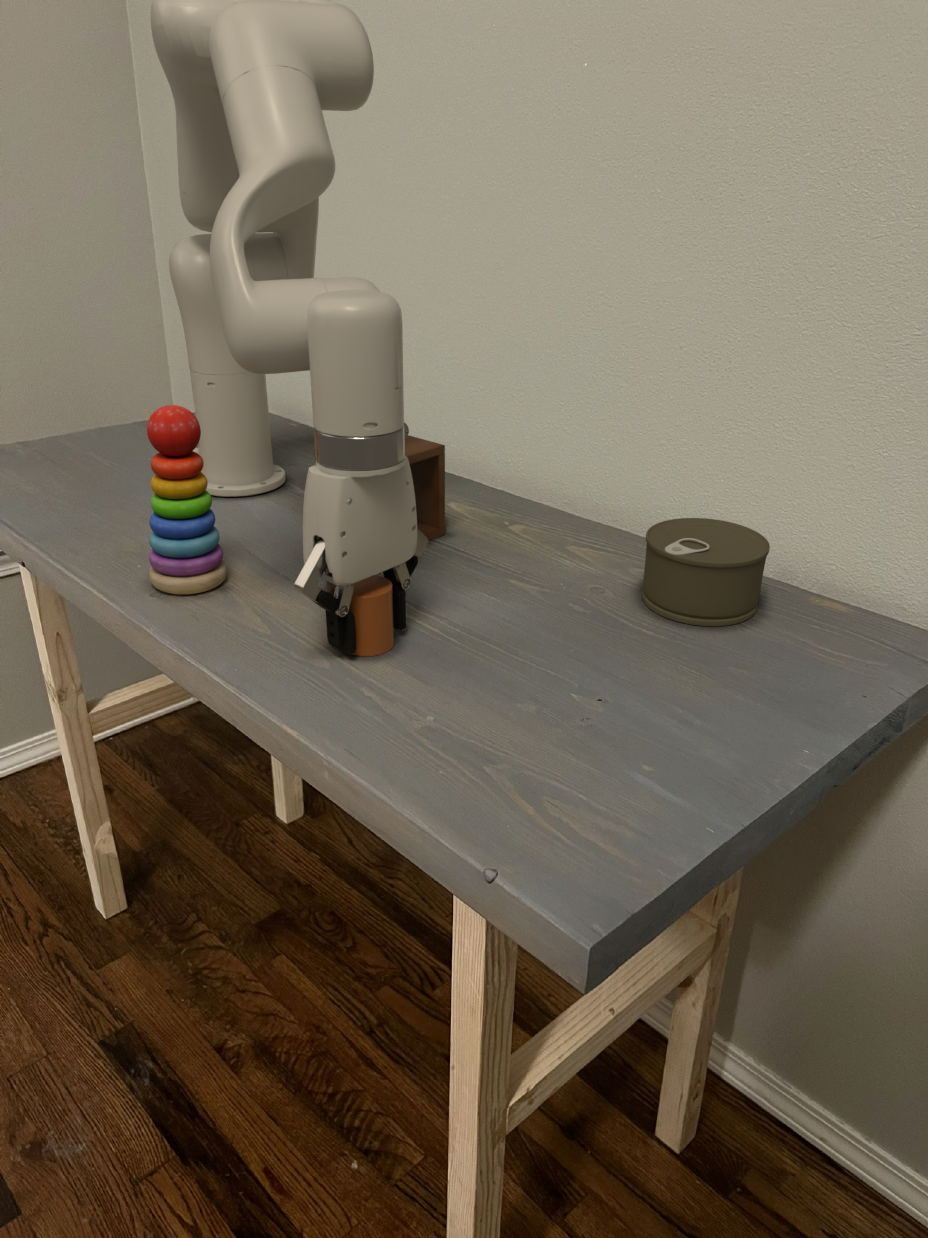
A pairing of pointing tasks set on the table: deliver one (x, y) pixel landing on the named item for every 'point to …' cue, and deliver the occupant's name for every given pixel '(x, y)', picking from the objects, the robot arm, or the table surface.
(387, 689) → the table surface
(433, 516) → the shelf
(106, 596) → the table surface
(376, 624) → the copper tin
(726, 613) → the can
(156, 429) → the stacking toy
